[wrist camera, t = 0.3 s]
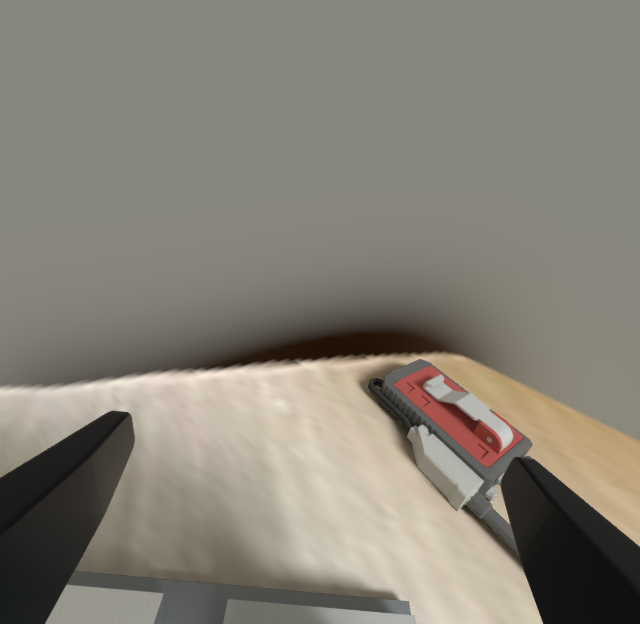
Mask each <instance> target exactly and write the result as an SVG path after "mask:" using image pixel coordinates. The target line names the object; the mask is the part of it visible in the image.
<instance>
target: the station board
mask: <svg viewBox="0 0 640 624" xmlns="http://www.w3.org/2000/svg"><path fill="white" fill-rule="evenodd" d="M67 585H75V586H86V587H98V588H109V589H120V590H132V591H143V592H154V593H164V597H165V601H166V605H167V609H168V610H167V614H166V617H165V620H164V623H163V624H223V622H224V617H225V612H226V607H227V602H228V599H233V600H245V601H256V602H267V603H279V604H290V605H301V606H313V607H324V608H335V609H347V610H358V611H369V612H380V613H392V614H403V615H411V612H410V606H409V601H400V600H388V599H377V598H366V597H355V596H344V595H333V594H322V593H311V592H300V591H289V590H278V589H267V588H256V587H245V586H234V585H222V584H211V583H200V582H189V581H178V580H167V579H156V578H145V577H134V576H123V575H112V574H101V573H90V572H79V571H74V572H73V574H72V576H71V578H70V579H69V581H68V583H67Z"/></svg>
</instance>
